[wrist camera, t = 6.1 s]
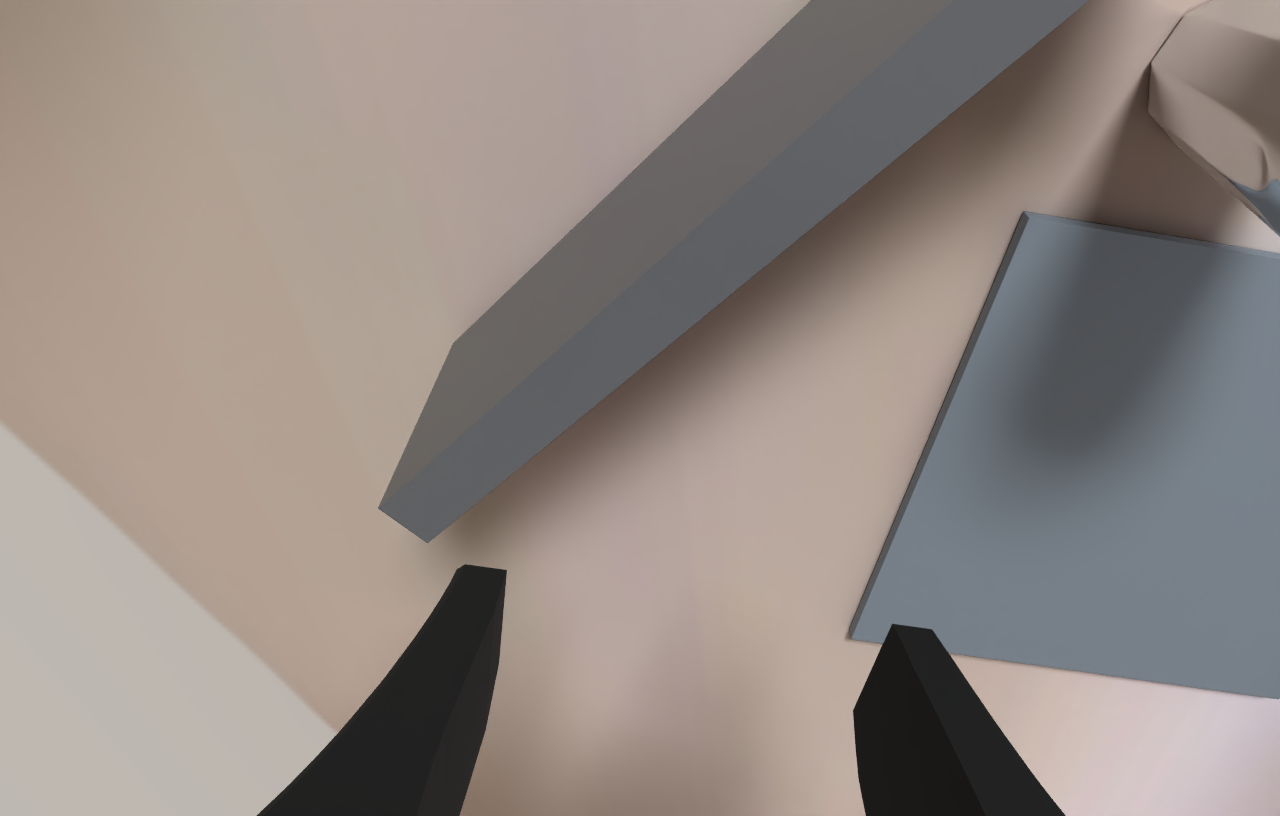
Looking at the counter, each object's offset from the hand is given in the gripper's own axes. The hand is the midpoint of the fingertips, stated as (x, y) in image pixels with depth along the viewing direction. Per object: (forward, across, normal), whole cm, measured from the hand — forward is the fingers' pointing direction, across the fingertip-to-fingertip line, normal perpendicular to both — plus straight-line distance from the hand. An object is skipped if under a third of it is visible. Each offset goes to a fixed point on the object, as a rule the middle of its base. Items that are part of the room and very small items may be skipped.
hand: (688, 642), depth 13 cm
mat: (+10, -14, +3) cm, 18 cm away
